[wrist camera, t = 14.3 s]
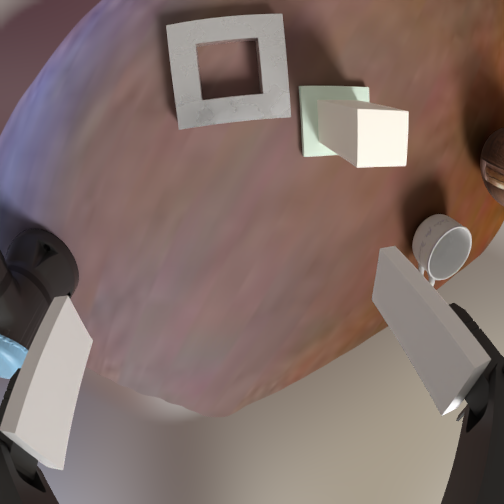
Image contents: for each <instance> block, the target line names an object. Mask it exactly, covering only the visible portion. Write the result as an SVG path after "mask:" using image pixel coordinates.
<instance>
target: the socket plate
mask: <svg viewBox="0 0 504 504" xmlns="http://www.w3.org/2000/svg"><path fill="white" fill-rule="evenodd" d="M166 29H167V38H168V48H169V57H170V65H171V74H172V82H173V89H174V97H175V104H176V111H177V118H178V125H179V130H180V129H186V128H193V127H199V126H206V125H213V124H221V123H229V122H238V121H247V120H258V119H270V118H284V117H291V109H290V94H289V81H288V68H287V57H286V46H285V35H284V25H283V16H282V14H255V15H239V16H227V17H217V18H209V19H201V20H194V21H188V22H182V23H176V24H171V25H166ZM246 41H255V44H256V54H257V64H258V75H259V86H260V93H258V94H246V95H236V96H227V97H219V98H211V99H204V100H203V95H202V87H201V78H200V69H199V60H198V51H197V47H200V46H207V45H215V44H224V43H234V42H246Z"/></svg>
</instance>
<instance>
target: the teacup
mask: <svg viewBox="0 0 504 504" xmlns="http://www.w3.org/2000/svg"><path fill="white" fill-rule="evenodd" d="M471 244H472V238H471V234H470V232H469V230H468V229H467V228H466V227H464V226H462V225H461V224H459V223H458V222H457V221H455V220H454V219H452V218H451V217H449V216H447V215H443V214H435V215H432V216H430V217H428V218H427V219H426V220H424V221H423V222H422V223H421V224H420V225H419V227H418V228H417V230H416V232H415V235H414V238H413V243H412V249H413V254H414V256H415V258H416V260H417V261H418V265H419V268H418V271H419V272H420V273H421V274H422V275H423V274H424V269H425V270H426V271H427V273H428V276H429V281H428V282H429V283H430V284H431V285H432V286H434V283H435V279H436V280H443V279H447V278H449V277H451V276H452V275H453V274H455V273H456V272H457V271H458V270H459V269H460V268H461V267H462V265H463V264H464V263H465V261H466V259H467V257H468V255H469V253H470V249H471Z"/></svg>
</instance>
